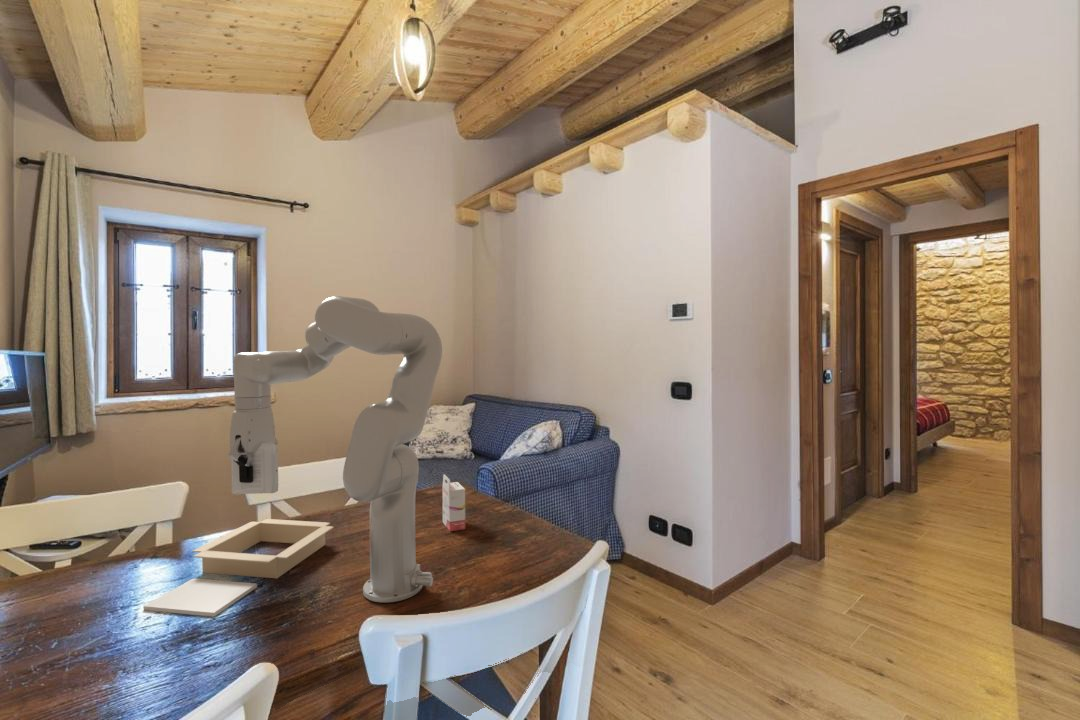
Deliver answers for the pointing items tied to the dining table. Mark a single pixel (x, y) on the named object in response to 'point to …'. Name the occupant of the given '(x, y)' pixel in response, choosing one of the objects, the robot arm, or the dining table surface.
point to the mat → (201, 597)
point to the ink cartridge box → (453, 505)
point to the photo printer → (258, 472)
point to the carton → (229, 560)
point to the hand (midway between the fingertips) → (255, 478)
